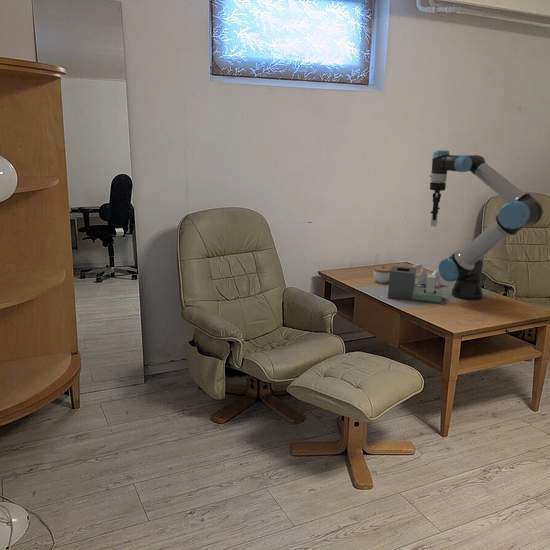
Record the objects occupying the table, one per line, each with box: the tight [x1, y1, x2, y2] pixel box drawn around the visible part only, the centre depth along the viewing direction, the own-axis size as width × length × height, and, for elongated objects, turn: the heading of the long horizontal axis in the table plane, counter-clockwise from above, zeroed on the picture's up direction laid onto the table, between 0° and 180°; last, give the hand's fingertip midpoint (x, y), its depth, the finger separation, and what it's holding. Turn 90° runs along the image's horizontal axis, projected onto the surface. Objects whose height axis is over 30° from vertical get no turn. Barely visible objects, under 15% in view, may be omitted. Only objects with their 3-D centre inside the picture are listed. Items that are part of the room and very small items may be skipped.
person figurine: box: [411, 263, 443, 287], centre depth 296 cm, size 13×13×18 cm
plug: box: [425, 275, 438, 294], centre depth 272 cm, size 5×4×11 cm
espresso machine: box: [387, 265, 444, 305], centre depth 274 cm, size 26×12×14 cm, turn 71°
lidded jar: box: [372, 264, 392, 284], centre depth 302 cm, size 11×11×9 cm
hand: (433, 224), depth 275 cm, fingers open, 13 cm apart
